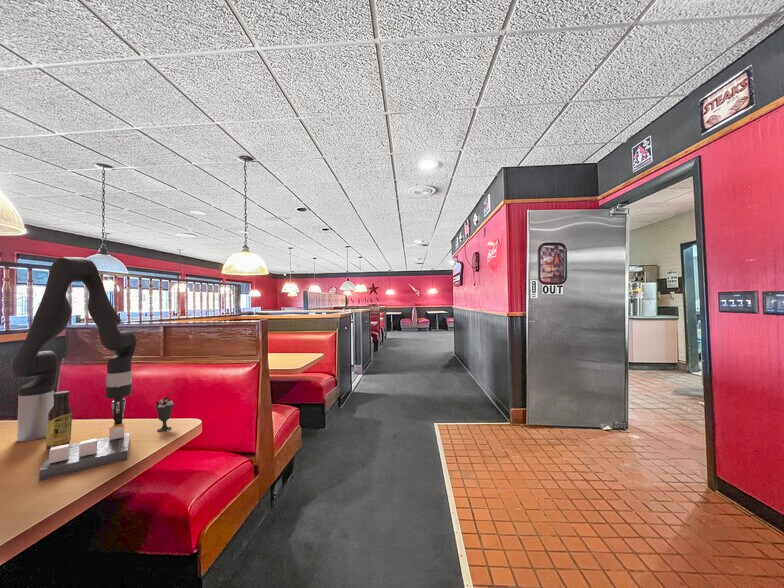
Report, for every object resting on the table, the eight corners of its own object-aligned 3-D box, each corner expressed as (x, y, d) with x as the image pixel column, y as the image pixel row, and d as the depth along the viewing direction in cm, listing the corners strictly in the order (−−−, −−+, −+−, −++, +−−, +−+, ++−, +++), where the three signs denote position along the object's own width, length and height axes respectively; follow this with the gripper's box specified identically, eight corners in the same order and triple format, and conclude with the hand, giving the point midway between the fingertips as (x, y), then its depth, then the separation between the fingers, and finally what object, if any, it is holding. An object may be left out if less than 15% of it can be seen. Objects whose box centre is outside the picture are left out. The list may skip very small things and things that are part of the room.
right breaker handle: (51, 460, 97) (51, 447, 97) (69, 456, 100) (69, 443, 100) (49, 463, 95) (49, 450, 95) (67, 459, 98) (68, 446, 98)
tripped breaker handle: (109, 437, 113) (109, 425, 113) (124, 434, 116) (124, 423, 116) (108, 440, 111) (109, 428, 111) (124, 437, 114) (124, 425, 114)
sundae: (178, 427, 131) (178, 391, 131) (161, 433, 124) (162, 396, 125) (167, 425, 133) (167, 390, 133) (150, 431, 126) (151, 394, 127)
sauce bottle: (53, 452, 109) (55, 395, 110) (40, 450, 111) (42, 394, 111) (76, 443, 116) (77, 390, 116) (63, 442, 117) (64, 389, 117)
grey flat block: (53, 456, 106) (53, 447, 106) (129, 440, 119) (129, 432, 119) (39, 480, 92) (39, 470, 92) (127, 459, 105) (127, 450, 105)
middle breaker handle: (80, 453, 101) (80, 441, 101) (97, 450, 104) (97, 438, 104) (78, 456, 99) (79, 444, 99) (96, 453, 102) (96, 440, 102)
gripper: (107, 381, 121) (106, 426, 121) (104, 389, 111) (103, 437, 110) (132, 378, 126) (131, 421, 126) (131, 385, 116) (130, 432, 115)
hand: (118, 429), depth 118 cm, fingers closed
